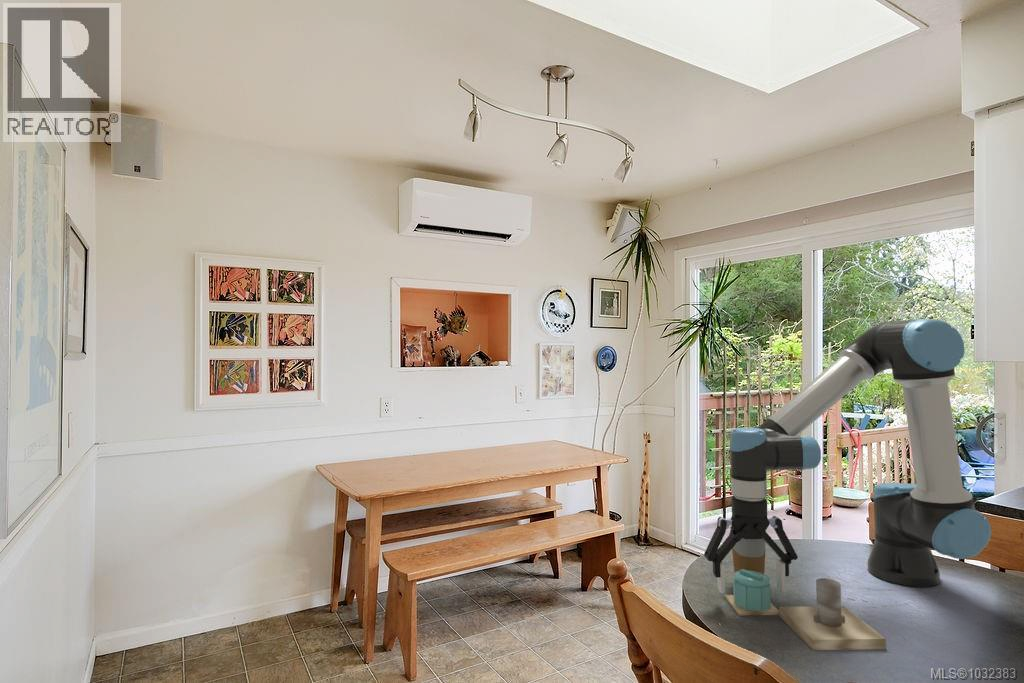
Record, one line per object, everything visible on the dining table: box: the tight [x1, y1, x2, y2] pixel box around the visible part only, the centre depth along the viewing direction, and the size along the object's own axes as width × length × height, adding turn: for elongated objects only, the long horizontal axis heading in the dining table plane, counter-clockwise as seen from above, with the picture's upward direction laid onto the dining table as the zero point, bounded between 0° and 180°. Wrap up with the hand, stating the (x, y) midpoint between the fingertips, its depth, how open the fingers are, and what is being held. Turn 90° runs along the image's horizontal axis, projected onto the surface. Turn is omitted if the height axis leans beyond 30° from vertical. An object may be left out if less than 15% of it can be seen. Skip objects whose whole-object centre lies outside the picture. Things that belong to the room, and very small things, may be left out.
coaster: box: [724, 594, 780, 616], centre depth 128 cm, size 9×9×1 cm
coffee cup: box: [729, 525, 766, 575], centre depth 139 cm, size 8×8×15 cm
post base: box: [778, 578, 887, 651], centre depth 116 cm, size 14×14×10 cm
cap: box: [732, 569, 772, 611], centre depth 128 cm, size 7×7×7 cm
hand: (751, 590), depth 128 cm, fingers open, 13 cm apart
